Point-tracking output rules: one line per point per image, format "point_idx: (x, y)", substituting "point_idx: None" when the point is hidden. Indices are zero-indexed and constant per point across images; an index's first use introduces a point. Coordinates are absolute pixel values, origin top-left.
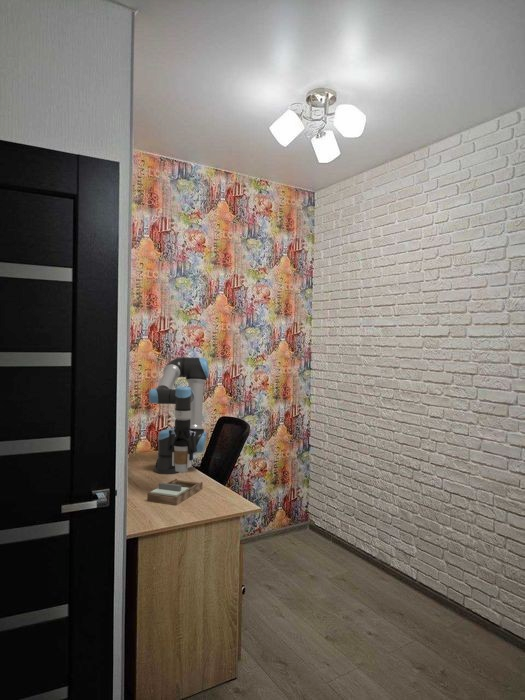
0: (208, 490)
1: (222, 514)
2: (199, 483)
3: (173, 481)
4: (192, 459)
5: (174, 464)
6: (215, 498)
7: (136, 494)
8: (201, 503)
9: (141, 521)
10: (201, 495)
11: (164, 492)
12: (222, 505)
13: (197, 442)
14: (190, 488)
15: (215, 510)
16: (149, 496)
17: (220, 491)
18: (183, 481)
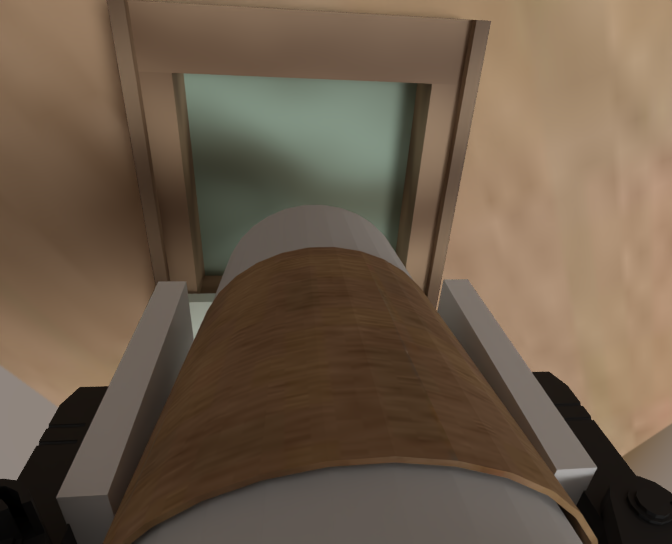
0: (531, 39)
1: (666, 426)
2: (471, 93)
3: (142, 98)
4: (555, 391)
5: (189, 342)
6: (616, 226)
7: (21, 357)
8: (534, 342)
9: None
10: (498, 202)
11: None
12: (667, 326)
13: None
14: (433, 274)
15: (628, 399)
16: None
17: (652, 26)
18: (245, 41)
